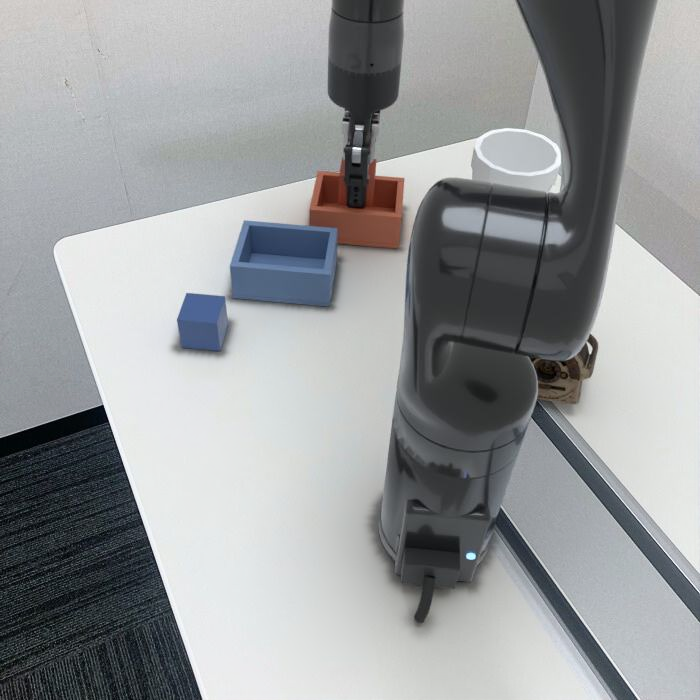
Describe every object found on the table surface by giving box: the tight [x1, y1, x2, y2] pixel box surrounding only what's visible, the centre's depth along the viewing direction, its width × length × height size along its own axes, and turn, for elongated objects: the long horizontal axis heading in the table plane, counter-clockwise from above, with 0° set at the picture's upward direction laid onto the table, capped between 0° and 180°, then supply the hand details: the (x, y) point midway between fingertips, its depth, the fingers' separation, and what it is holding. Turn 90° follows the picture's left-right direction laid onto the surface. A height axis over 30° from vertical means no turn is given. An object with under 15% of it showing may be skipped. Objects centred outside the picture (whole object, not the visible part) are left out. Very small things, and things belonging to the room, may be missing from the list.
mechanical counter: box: [529, 333, 599, 405], centre depth 74 cm, size 7×13×10 cm
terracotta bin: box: [308, 170, 405, 250], centre depth 90 cm, size 8×11×5 cm
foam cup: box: [470, 127, 561, 194], centre depth 85 cm, size 10×9×13 cm
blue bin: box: [229, 220, 338, 308], centre depth 83 cm, size 8×11×5 cm
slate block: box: [176, 292, 229, 352], centre depth 77 cm, size 4×4×4 cm
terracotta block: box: [338, 156, 377, 208], centre depth 88 cm, size 4×4×4 cm
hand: (357, 194), depth 89 cm, fingers closed on terracotta block, 4 cm apart
